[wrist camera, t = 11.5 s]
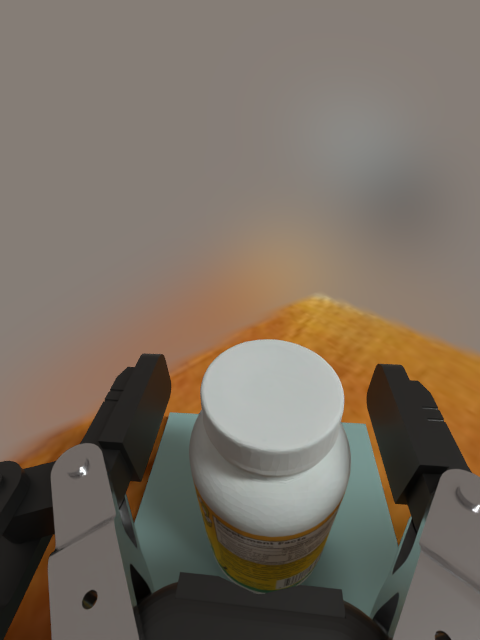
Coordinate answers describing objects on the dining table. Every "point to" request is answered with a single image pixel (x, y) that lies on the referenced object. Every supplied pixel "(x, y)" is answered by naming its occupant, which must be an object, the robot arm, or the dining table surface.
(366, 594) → the board
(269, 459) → the supplement bottle
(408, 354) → the dining table surface
